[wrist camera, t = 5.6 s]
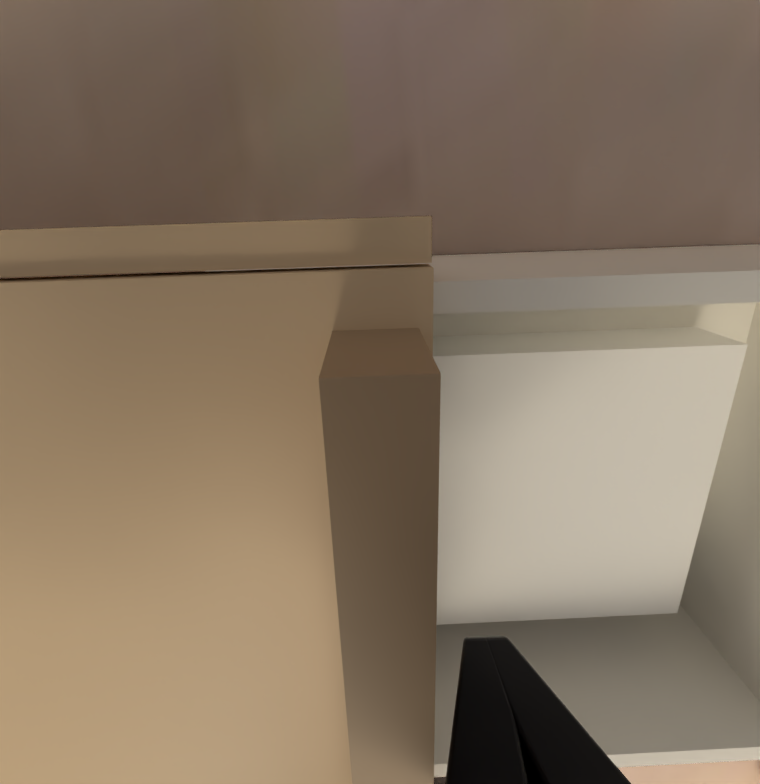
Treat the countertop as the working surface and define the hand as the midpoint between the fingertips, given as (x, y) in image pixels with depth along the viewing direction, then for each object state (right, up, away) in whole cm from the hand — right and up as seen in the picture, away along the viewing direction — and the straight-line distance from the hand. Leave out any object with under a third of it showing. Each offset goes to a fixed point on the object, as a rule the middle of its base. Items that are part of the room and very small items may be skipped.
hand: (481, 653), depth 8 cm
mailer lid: (-8, +1, +2) cm, 8 cm away
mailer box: (+2, +2, +6) cm, 7 cm away
